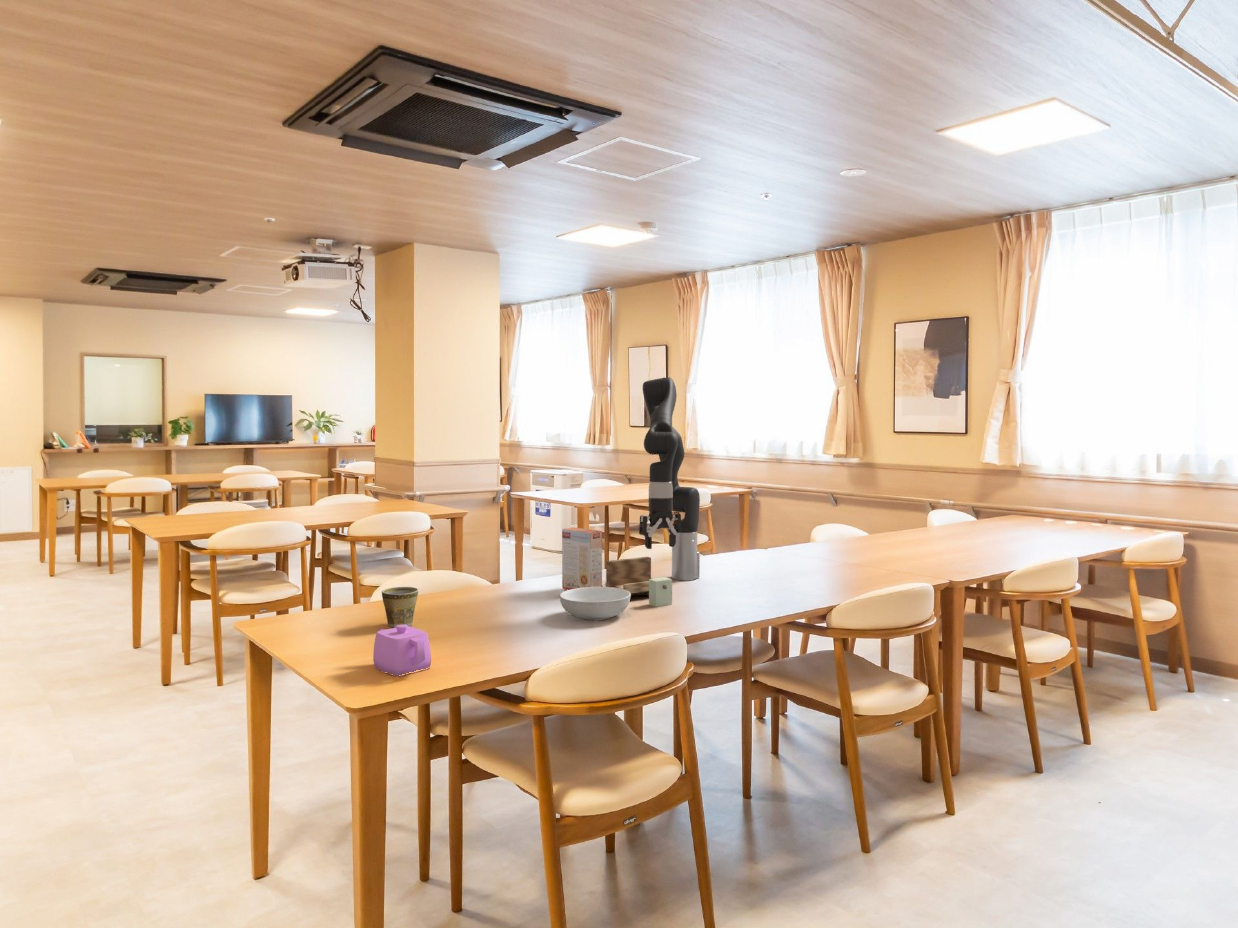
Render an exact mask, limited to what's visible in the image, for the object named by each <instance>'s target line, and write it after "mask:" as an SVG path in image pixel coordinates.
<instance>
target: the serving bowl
mask: <svg viewBox="0 0 1238 928" xmlns="http://www.w3.org/2000/svg"><path fill="white" fill-rule="evenodd" d="M631 597H632V596H631V594H630V592H629V591H627V590H624V589H620V588H613V587H606V586H602V587H583V588H576V589H571V590H564V591H562V592H561V593H560V594H559V601H560V604H561V606H562V608H563V610H564V611H565V612H566V613H567V614H569V615H571V616H573V617H576V618H579V619H583V620H588V621H603V620H607V619H610V618H612V617H613V618H614V617H615V616H618V615H620V614H622V613H623V612H625V610H626V609H627V608H628V606H629V604H630V602H631V601H630V600H631Z"/></svg>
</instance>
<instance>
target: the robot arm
mask: <svg viewBox="0 0 1238 928" xmlns="http://www.w3.org/2000/svg"><path fill="white" fill-rule="evenodd" d="M675 384H676V383H675V381H674V379H673V378H671V377H667V376H666V377H660V378H655V379H650V380H646V381H644V382H643V384H642V394H643V398H644V402H645V406H646V409H647V412H648V416H649V421H650V424H649V429H648V431H647V432H646V433H645V436H644V440H643V448H644V451H645V452H646V453H648V454H649V455H658V459H659V461H655V462H652V463H651V464H650V465H649V485H648V512H649V513H648V515H644V514H643V515H640V516H639V527H638V528H639V529H638V534H639V535H640V536H644V547H645V548H646V549H648V550H651V549H652V547H653V546H652V545H653V540H652V539H653V537H652V535H653V533H654V532H656V531H657V529H658V530H659V529H665V530H667V532H668V533H669V534H668V546H669V547H671V579H672V580H673V579H674V580H675V581H676V580H677V581H693V580H697V579H700V561H701V560H700V558H701V556H700V555H701V554H700V551H698V528H699V527H698V526H699V521H700V506H701V503H700V502H701V499H700V498H701V496H700V492H699V490H698V489H697V488H696V487H693V486H692V487H691V486H680V484H679V479H678V475H679V470H680V468H681V466H682V464H683V463H684V462H683V461H684V458H685V454H686V453H685V447H684V444H683V443H684V442H683V439H682V436H681V434H680V433H679V431H678V430H677V429H676V428H674V427H673V414H674V412H675V411H674V410H675V407H676V402H677V395H678V394H677V388H676V385H675ZM673 512H674V513H673ZM681 513H684V517H683V518H682V514H681ZM672 521H673V523H672Z"/></svg>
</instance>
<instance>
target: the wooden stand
mask: <svg viewBox="0 0 1238 928" xmlns="http://www.w3.org/2000/svg"><path fill="white" fill-rule="evenodd" d="M605 573H606V575H605V587H613V588H620V589H624V590H627V591H629V592H630V594H631V597H632V596H633V597H634V596H640V595H644V596H648V597H649V579H652V557H650V556H641V557H632V558H622V559H621V558H620V559H613V560H611V559H610V560H606V562H605Z"/></svg>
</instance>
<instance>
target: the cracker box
mask: <svg viewBox="0 0 1238 928" xmlns="http://www.w3.org/2000/svg"><path fill="white" fill-rule="evenodd" d="M561 530H562V531H561V532H562V533H561V538H562V539H561V541H562V543H561V544H562V545H561V550H562V551H561V553H562V554H561V555H562V556H561V557H562V558H561V559H562V560H561V564H562V565H561V569H562V570H561V571H562V572H561V573H562V575H561V576H562V577H561V578H562V581H561V582H562V585H561V589H562V590H565V591H567V590H571V589H576V588H583V587H603V531H602V530H597V529H589V528H581V527H567V528H562V529H561Z"/></svg>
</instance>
